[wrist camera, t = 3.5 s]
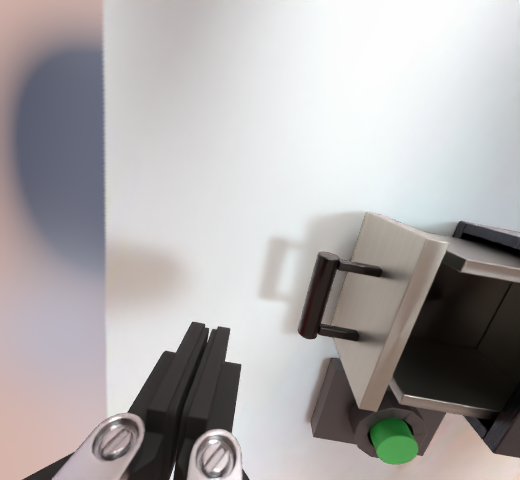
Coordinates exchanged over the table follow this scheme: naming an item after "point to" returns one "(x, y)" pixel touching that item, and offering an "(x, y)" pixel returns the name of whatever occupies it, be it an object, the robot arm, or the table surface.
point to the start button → (393, 441)
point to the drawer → (422, 319)
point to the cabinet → (516, 408)
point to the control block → (365, 414)
